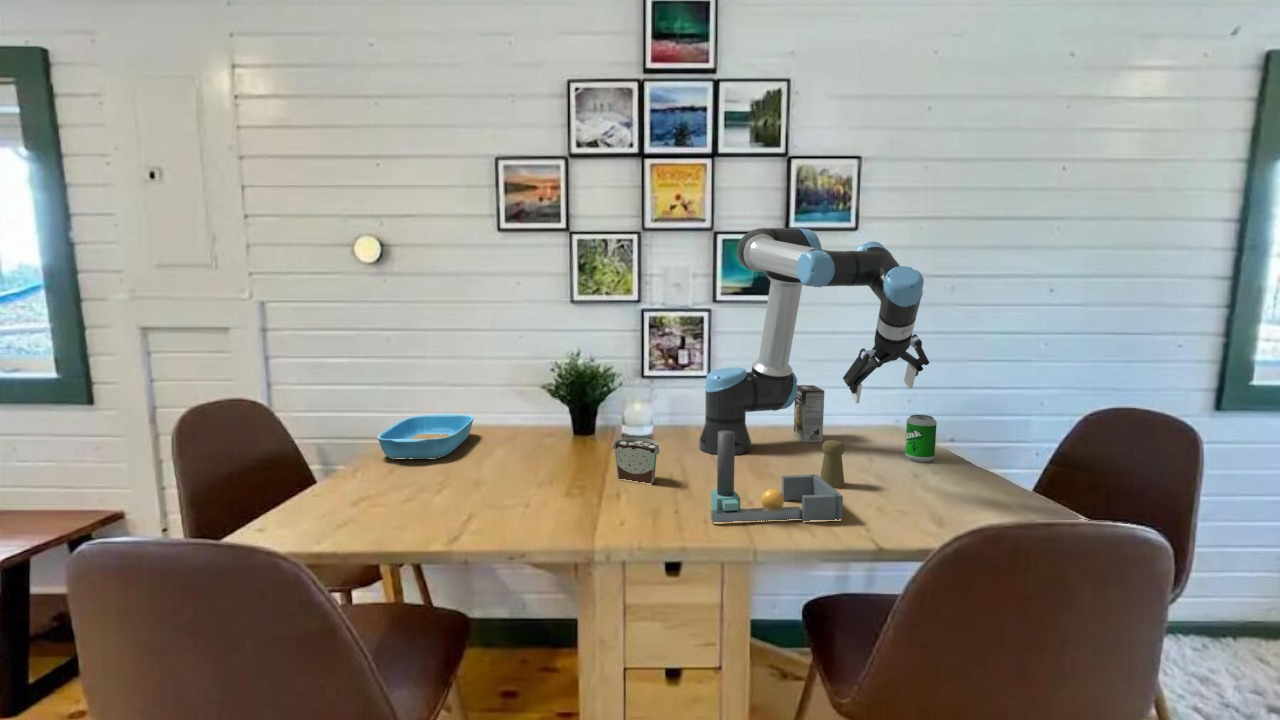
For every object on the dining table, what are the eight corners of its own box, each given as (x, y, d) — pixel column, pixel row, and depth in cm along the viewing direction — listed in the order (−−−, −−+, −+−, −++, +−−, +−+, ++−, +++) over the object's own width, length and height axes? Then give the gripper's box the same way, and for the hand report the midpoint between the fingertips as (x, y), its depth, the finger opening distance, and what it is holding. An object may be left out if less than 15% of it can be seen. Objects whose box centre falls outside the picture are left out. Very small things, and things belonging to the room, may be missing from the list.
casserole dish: (412, 433, 221) (411, 411, 220) (481, 433, 221) (480, 411, 220) (366, 466, 185) (365, 440, 184) (449, 466, 185) (448, 440, 184)
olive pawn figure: (815, 481, 170) (816, 438, 168) (839, 480, 170) (840, 437, 169) (824, 489, 164) (825, 444, 162) (848, 488, 164) (850, 443, 163)
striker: (719, 521, 142) (720, 439, 140) (710, 507, 151) (711, 429, 148) (743, 520, 143) (744, 438, 140) (733, 506, 151) (734, 428, 149)
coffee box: (792, 435, 215) (794, 385, 213) (812, 434, 216) (814, 384, 214) (802, 442, 206) (804, 390, 204) (823, 442, 207) (825, 389, 205)
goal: (803, 523, 142) (804, 497, 141) (781, 498, 157) (781, 475, 156) (842, 521, 143) (842, 496, 142) (816, 497, 158) (816, 474, 157)
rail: (713, 524, 142) (713, 513, 141) (711, 521, 144) (711, 510, 143) (801, 520, 144) (802, 509, 143) (798, 517, 146) (798, 506, 145)
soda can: (929, 456, 192) (931, 414, 190) (938, 463, 184) (940, 420, 183) (901, 455, 192) (903, 413, 191) (909, 463, 185) (911, 419, 183)
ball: (757, 513, 148) (758, 491, 147) (764, 506, 152) (764, 484, 152) (780, 517, 146) (780, 494, 145) (786, 509, 150) (787, 487, 149)
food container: (667, 478, 172) (667, 440, 171) (657, 486, 167) (657, 446, 165) (623, 472, 177) (623, 435, 176) (612, 479, 172) (612, 441, 170)
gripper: (848, 356, 146) (839, 417, 161) (957, 326, 147) (938, 389, 163) (833, 332, 151) (826, 394, 166) (938, 304, 153) (921, 367, 168)
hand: (881, 392), depth 165 cm, fingers open, 13 cm apart
